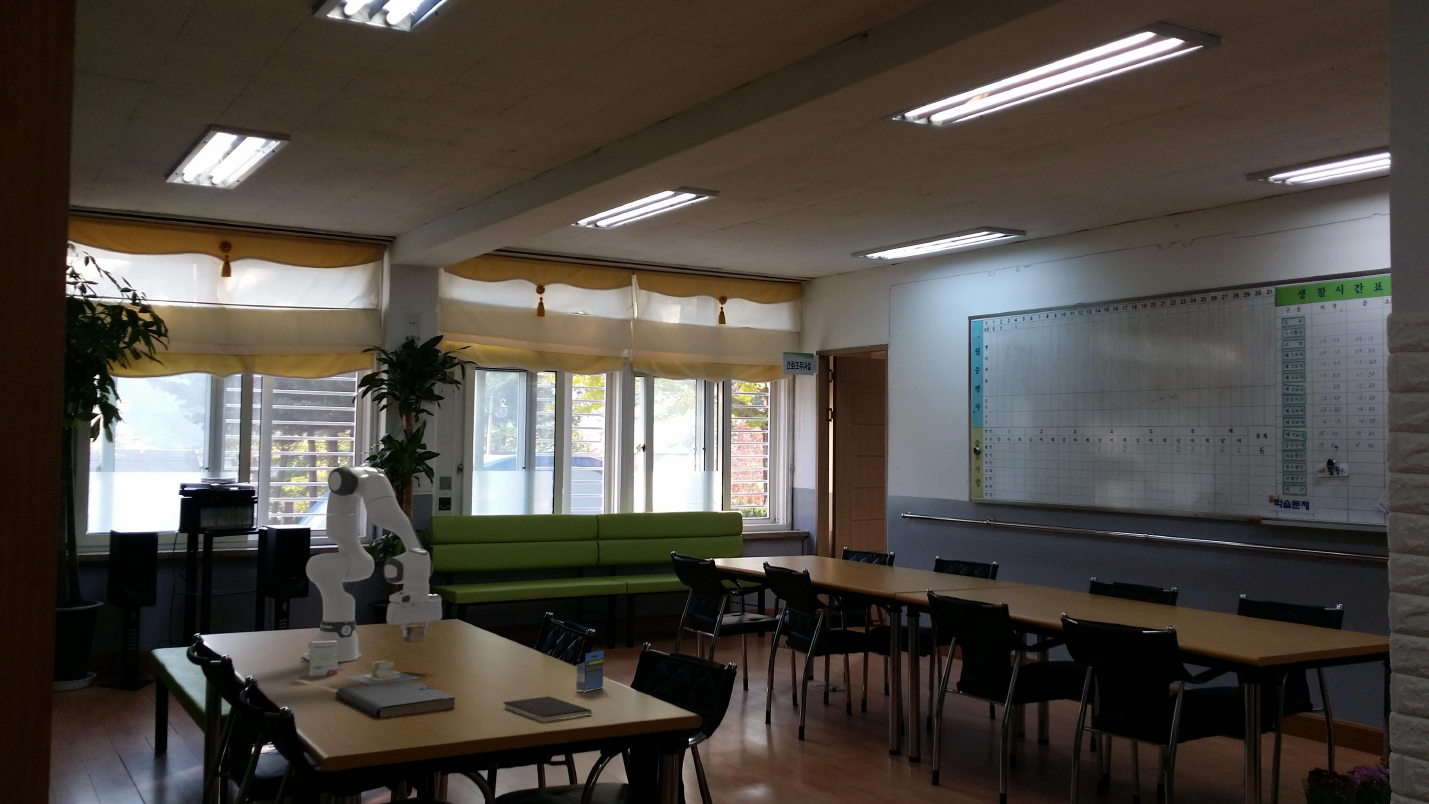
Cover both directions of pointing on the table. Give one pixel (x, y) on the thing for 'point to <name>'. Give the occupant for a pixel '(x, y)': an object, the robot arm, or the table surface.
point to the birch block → (382, 669)
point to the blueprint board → (370, 680)
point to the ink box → (323, 658)
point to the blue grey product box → (590, 672)
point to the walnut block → (415, 634)
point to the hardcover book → (546, 708)
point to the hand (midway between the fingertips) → (413, 635)
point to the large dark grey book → (396, 698)
